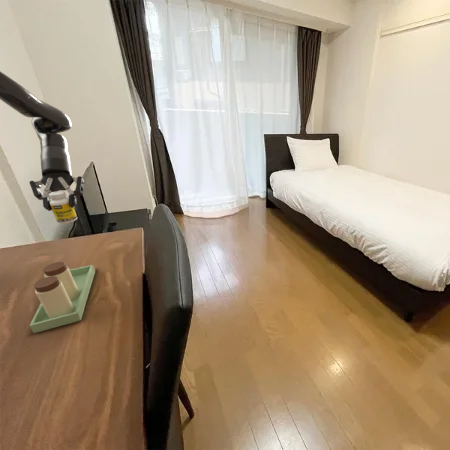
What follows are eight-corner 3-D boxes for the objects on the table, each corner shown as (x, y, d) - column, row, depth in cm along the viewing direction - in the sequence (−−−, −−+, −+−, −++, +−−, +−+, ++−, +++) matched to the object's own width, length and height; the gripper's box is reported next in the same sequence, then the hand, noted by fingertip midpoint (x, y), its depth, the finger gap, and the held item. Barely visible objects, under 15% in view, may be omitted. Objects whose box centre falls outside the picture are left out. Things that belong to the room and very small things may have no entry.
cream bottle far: (44, 321, 67) (26, 289, 63) (58, 306, 71) (42, 276, 67) (66, 319, 68) (50, 287, 63) (78, 305, 72) (64, 274, 68)
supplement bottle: (57, 225, 87) (45, 197, 83) (57, 220, 91) (45, 192, 87) (78, 221, 90) (67, 193, 86) (77, 215, 94) (66, 189, 90)
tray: (59, 279, 83) (56, 272, 82) (95, 271, 86) (92, 264, 85) (33, 333, 64) (29, 325, 63) (81, 320, 68) (77, 312, 67)
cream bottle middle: (52, 303, 73) (36, 272, 68) (64, 291, 77) (50, 261, 73) (72, 301, 73) (58, 271, 69) (83, 289, 78) (70, 260, 73)
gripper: (21, 158, 85) (25, 207, 81) (78, 154, 91) (83, 199, 87) (34, 171, 92) (38, 216, 87) (86, 166, 98) (91, 209, 93)
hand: (60, 208), depth 87 cm, fingers closed on supplement bottle, 5 cm apart
